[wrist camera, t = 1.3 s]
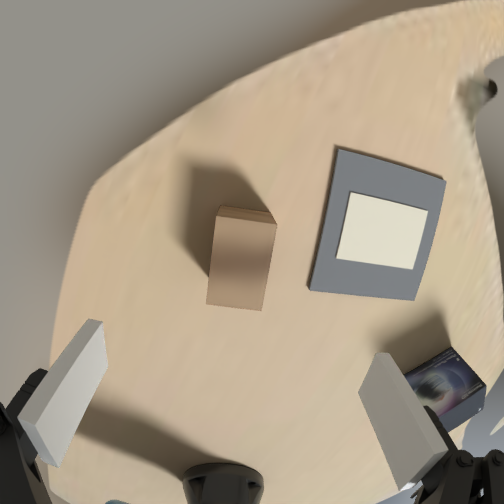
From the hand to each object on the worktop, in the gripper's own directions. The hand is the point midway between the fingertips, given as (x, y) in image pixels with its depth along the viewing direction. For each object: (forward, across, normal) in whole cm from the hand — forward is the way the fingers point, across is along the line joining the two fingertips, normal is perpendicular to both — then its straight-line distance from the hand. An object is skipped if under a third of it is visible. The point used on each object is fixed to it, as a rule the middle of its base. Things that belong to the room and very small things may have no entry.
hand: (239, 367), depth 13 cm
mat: (+19, -15, -4) cm, 24 cm away
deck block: (+19, 0, 0) cm, 19 cm away
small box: (+19, -31, +16) cm, 40 cm away
